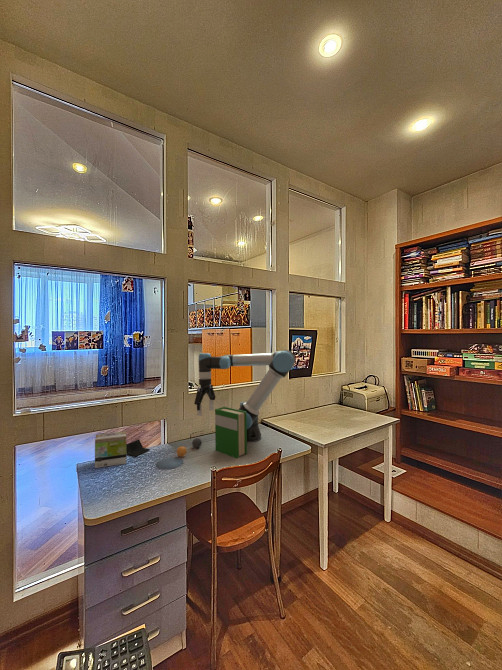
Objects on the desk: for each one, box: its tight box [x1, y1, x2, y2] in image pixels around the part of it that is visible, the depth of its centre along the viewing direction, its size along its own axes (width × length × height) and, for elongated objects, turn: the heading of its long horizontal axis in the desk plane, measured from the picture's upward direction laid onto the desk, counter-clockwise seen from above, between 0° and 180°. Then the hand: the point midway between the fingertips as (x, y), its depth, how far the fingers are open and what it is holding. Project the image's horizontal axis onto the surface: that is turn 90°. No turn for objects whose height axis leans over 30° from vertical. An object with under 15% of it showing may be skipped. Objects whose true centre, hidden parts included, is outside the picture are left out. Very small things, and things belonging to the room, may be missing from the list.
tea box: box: [94, 430, 127, 469], centre depth 162 cm, size 15×10×15 cm, turn 114°
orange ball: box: [176, 445, 188, 458], centre depth 169 cm, size 6×6×6 cm
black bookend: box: [126, 439, 151, 458], centre depth 176 cm, size 12×7×10 cm
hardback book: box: [214, 406, 248, 460], centre depth 174 cm, size 18×7×24 cm, turn 49°
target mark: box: [155, 457, 184, 470], centre depth 160 cm, size 14×14×1 cm
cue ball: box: [191, 437, 202, 449], centre depth 182 cm, size 6×6×6 cm
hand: (205, 412), depth 190 cm, fingers open, 12 cm apart
